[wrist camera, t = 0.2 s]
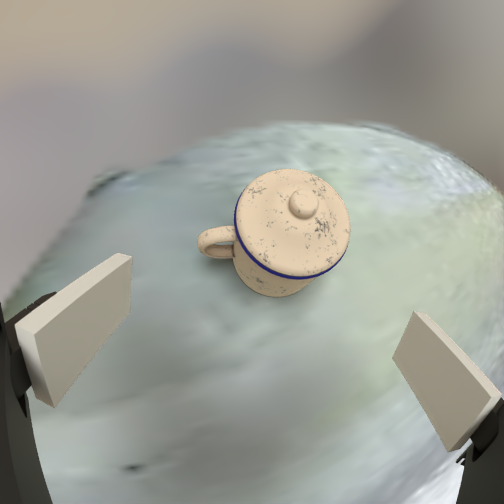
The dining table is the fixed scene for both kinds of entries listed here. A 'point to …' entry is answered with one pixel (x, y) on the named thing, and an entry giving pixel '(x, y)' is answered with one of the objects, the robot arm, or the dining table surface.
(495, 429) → the robot arm
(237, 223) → the teacup with lid
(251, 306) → the dining table surface
